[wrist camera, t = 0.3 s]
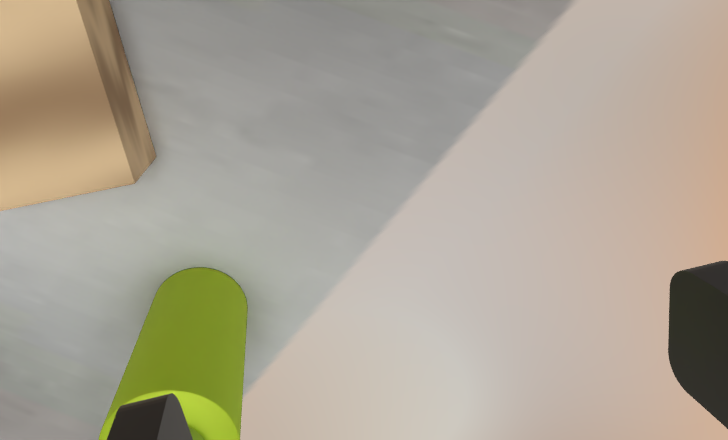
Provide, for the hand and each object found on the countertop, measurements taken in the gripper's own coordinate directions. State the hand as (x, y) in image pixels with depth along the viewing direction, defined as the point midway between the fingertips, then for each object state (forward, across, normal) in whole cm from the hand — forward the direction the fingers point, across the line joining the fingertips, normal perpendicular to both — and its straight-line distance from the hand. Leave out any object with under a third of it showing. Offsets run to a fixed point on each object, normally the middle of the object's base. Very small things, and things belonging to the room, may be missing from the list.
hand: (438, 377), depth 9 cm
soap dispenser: (+27, +10, +11) cm, 31 cm away
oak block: (+27, +14, -4) cm, 31 cm away
